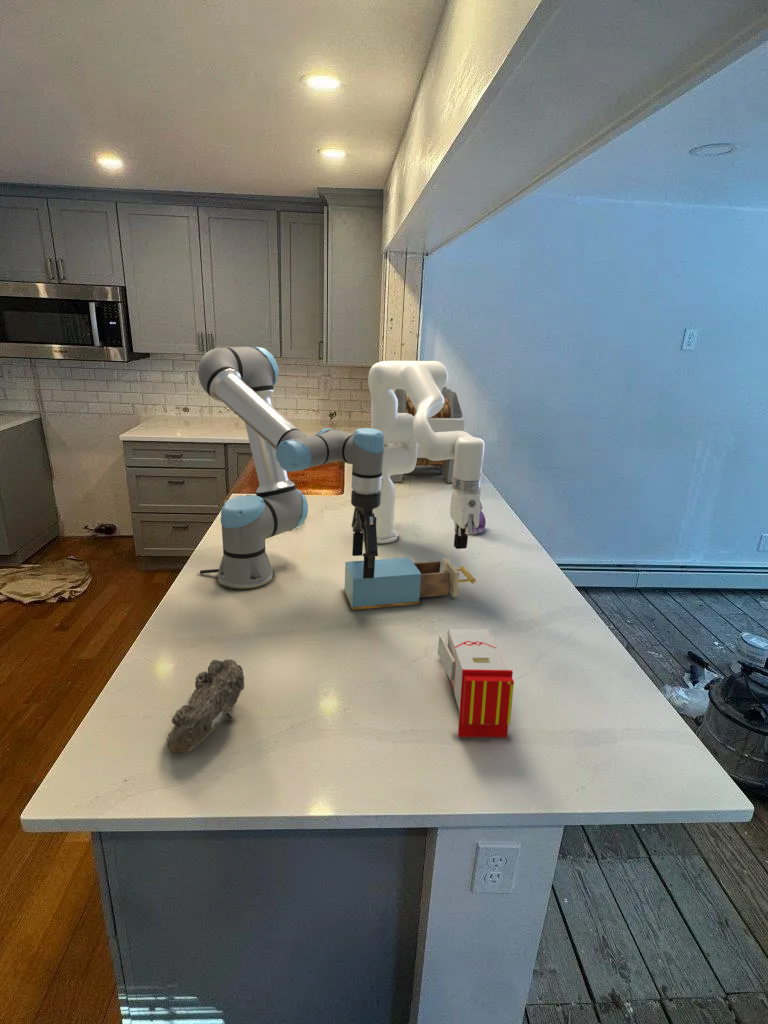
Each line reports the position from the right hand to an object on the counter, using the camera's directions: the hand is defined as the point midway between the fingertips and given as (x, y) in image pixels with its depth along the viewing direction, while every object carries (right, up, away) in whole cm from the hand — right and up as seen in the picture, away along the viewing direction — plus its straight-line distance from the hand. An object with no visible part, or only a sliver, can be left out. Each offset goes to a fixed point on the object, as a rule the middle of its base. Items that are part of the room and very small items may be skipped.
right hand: (460, 547), depth 156 cm
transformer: (-4, +29, +119) cm, 122 cm away
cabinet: (-22, -14, -1) cm, 26 cm away
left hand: (-27, -5, -5) cm, 28 cm away
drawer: (-8, -12, +3) cm, 15 cm away
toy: (-3, -28, -38) cm, 47 cm away
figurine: (+12, +3, +50) cm, 51 cm away
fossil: (-54, -29, -48) cm, 78 cm away
